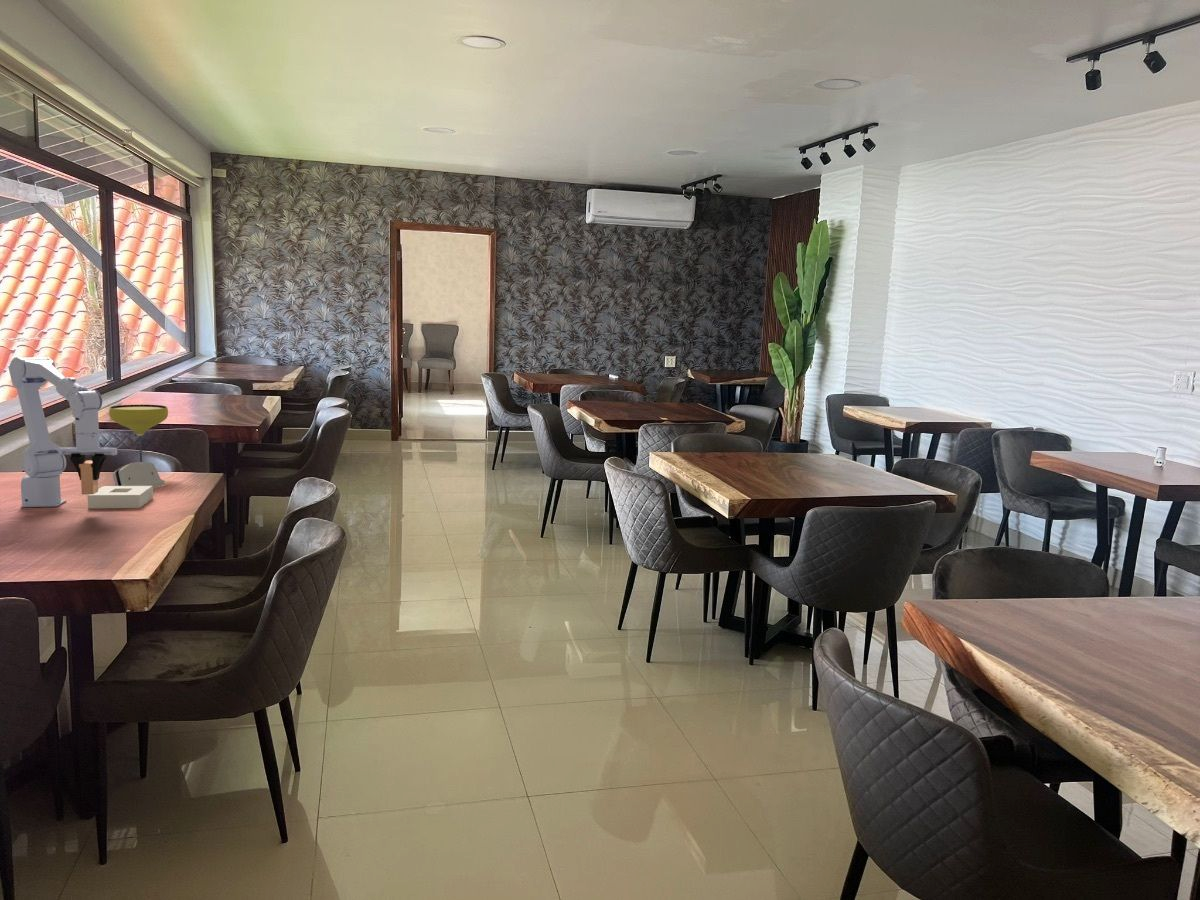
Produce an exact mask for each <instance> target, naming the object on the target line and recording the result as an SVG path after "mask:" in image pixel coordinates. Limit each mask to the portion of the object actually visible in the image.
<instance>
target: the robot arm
mask: <svg viewBox="0 0 1200 900" xmlns="http://www.w3.org/2000/svg"><path fill="white" fill-rule="evenodd" d="M8 372H9V376H10V379H11V383H12V387H14V388H16V392H17V395H18V400H19V404H20V407H21V412H22V416H23V421H24V424H25V428H26V434H27V436H28V437H27V438H28V441H29V445H28V446H27V447H26V448H25V449H24V450H23V451H22V452H21V455H22V470H23V471H24V473H25V474H26V475H25V476H23V477H22V478H21V481H20V494H21V495H20V496H21V505H20V507H21V508H31V507H32V508H33V507H34V508H36V507H37V508H38V507H39V508H41V507H42V508H46V507H47V508H49V507H53V508H54V507H55V508H56V507H58V506H60V505H62V504H63V503H65V502H67V499H62V493H61V478H60V476H61V475H62V474H63V472H64V471H65V470H66V467H67V458H66V456H65V455H69V456H70V457H69V460H70V462H71V463H72V464H73V466H74V467H75V470H76V472H77V474H78V477H79V481H81V468H79V464H80V463H82V462H85V461H86V455H87V456H88V455H89V456H90V455H91V461H92V462H93V469H94V480H98V481H99V479H100V475H101V470H102V467H103V465H104V462H105V461H106V458H107V457H108V456H116V455H118V448H117V447H110V446H109V447H105V446H100V428H99V427H100V426H99V411H100V410H101V409H102V407H103V398H102V394H101V393H100V392H99V391H98V390H96V389H88V388H87V387H86V386H84V385H83V384H81V383H80V382H79V381H77V379H76V378H75V377H73V376H71V377H70V376H69V377H66V376H65V375H64V374H63V373H62V372H60V371H59V370H58V369H57V368H56V363H55V360H53V359H52V358H50V357H49V356H42V357H17V356H16V357H13V358H12V360H11V361H10V363H9V366H8ZM47 383H50V384H51V385H53V386H54V387H55V389H56V390H55V391H56V392H57V393H58V394H59V396H61V397H63V399H65V400H67V402H68V405H69V407H70V409H71V414H72V417H73V418H74V429H75V430H74V431H75V446H68V447H67V446H66V447H63V446H62V447H61V446H60V445H59V444H57V443H55V442H52V441H51V436H50V434H49V433H50V432H49V429H48V424H47V421H46V417H45V412H44V409H43V403H42V400H41V396H40V392H39V390H40V389H41V388H42V387H43V386H45V385H47ZM92 455H93V456H92Z"/></svg>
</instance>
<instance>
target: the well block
mask: <svg viewBox="0 0 1200 900" xmlns="http://www.w3.org/2000/svg"><path fill="white" fill-rule="evenodd" d="M153 490H154V488H153V486H115V485H104V486H100V487H98V492H97V493H95V494H87V509H140V507H141V508H142V507H143V506H145V505H146V504H147V503H149V502H150V501H152V500H153V499H152V498H154V491H153ZM148 501H149V502H148ZM144 504H145V505H144Z"/></svg>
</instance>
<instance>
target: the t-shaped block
mask: <svg viewBox="0 0 1200 900" xmlns="http://www.w3.org/2000/svg"><path fill="white" fill-rule="evenodd" d="M79 468H81V480H80V486H81V495H89V494H95V493H97V492H98V489H99V479H98V480H94V469H93V462H92V460H85V462H82V463H80V464H79Z"/></svg>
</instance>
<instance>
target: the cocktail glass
mask: <svg viewBox="0 0 1200 900" xmlns="http://www.w3.org/2000/svg"><path fill="white" fill-rule="evenodd" d="M168 415H169V410H168V407H167V406H165V405H162V404H161V405H159V404H124V405H123V404H122V405H113V406H110V407H109V418H110V419H111V421H113V422H115V423H116V424H118V425H120V426H122V427H126V428H128V429H129V430H132V431H133V432H134V433H135V435H136V436H138V442H139V443H138V444H139V445H138V446H139V447H138V448H139V462H143V451H142V436H144V434H145V433H146V432H147V431H148V430H150V429H151V428H152V427H155V426H157V425H159V424H161V423H163V422H164V421H165V420H166V419H167V418H168Z"/></svg>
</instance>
